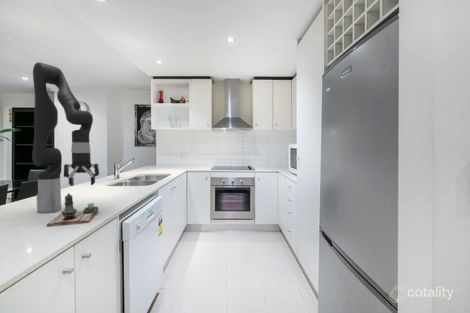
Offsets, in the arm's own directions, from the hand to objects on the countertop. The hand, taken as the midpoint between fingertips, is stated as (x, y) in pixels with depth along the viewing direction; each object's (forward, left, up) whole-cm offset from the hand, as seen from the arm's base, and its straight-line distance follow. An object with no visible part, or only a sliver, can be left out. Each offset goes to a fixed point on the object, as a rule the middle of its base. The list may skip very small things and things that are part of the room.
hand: (82, 185), depth 112 cm
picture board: (-3, -2, -16) cm, 16 cm away
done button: (+2, +3, -13) cm, 14 cm away
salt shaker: (-4, -5, -15) cm, 16 cm away
